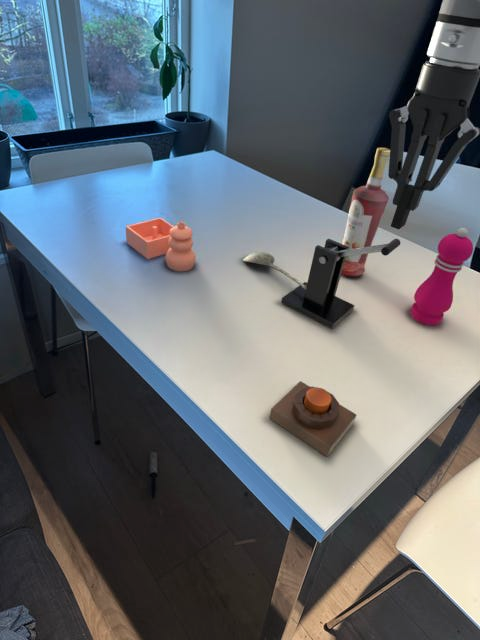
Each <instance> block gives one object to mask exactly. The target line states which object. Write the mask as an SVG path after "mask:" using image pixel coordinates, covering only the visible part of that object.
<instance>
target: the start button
mask: <svg viewBox="0 0 480 640" xmlns="http://www.w3.org/2000/svg"><path fill="white" fill-rule="evenodd" d="M321 388H322V387H317V388H311V389H309V390H308V391H307V393H306V397H305V400H304V405H305V407H306V408H307V409H308V410H309V411H310V412H312V413H315V414H323V413H325V412H327V411H328V409H329V406H330V403H331V396H330V394H329V393H330V392H329V391H328V390H326V389H324V388H322V389H321ZM327 391H328V392H329V393H328V392H327Z"/></svg>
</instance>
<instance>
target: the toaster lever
mask: <svg viewBox="0 0 480 640" xmlns="http://www.w3.org/2000/svg"><path fill="white" fill-rule="evenodd" d="M400 246H401V240H400V239H399V238H394V239H392V240H391V241H390V242H389V243H383V244H376V245H371V246H369V247H362V248H354V249H347V250H340V251H339V250H338V247H330V248H326V249H329V250H331V251H333V252H336V253H338V258H337V261H338V260H339V259H340V257H344V256H352V255H360V254H368V253H369V254H374V253H381V255H382V256H384V257H385V256H389V255H390V254H391V253H392V252H393V251H395V250H396V249H397V248H398V247H400ZM369 254H368V255H369Z"/></svg>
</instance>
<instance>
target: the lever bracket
mask: <svg viewBox="0 0 480 640" xmlns="http://www.w3.org/2000/svg"><path fill="white" fill-rule="evenodd" d="M330 247H338V250H339V251H340V250H347V249H348V248H349V247H348V246H346V245H343V243H341V242H339V241H336V240H333V239H331V238H327V239H326V240H325V243H324V246H322V245H319V244H318V245H316V246H315V247H314V252H313V256H312V260H311V264H310V269H309V273H308V278H307V281H304V282H302V284H304V285H306V291H305V289H303V287H302V286H301V285H298V286H297V287H295V288H294V289H293V290H291V291H290V292H288V293H287V294H285V295H284V296H283V297H281V301H280V303H281V304H283V305H285V306H286V307H288V308H290V309H292V310H293V311H296V312H298V313H299V314H302V315H304V316H306V317H308V318H310V319H312V320H314V321H315V322H317V323H319V324H321V325H323V326H324V327H327V328H329V329H331V330H333V329H334V328H335V327H336V326H337V325H338V324H339V323H340V322H342V321H343V320H344V319H345V318H346V317H348V315H350V313H351V312H353V311H354V308H355V304H353V303H351V302H348V301H347V300H345V299H342V298H340V297H339V296H336V294H337V292H338V291H337V290H338V287H339V284H340V280H341V276H342V274H341V273H342V269H343V266H344V262H345V259H346V256H344V257H340V259H339V260H338V261H337V258H338V253H336V252H333V251H331V250H329V249H326V248H330Z"/></svg>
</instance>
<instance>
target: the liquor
mask: <svg viewBox="0 0 480 640" xmlns="http://www.w3.org/2000/svg"><path fill="white" fill-rule="evenodd" d="M389 159H390V148H387V147H376V151H375V155H374V162H373V166H372V168H371V172H370V173H369V176H368V179H367V182H366V185H361V186H358V187H357V188H355V189H354V190H353V192H352V196H351V202H350V207H349V210H348V215H347V220H346V225H345V231H344V235H343V239H342V244H343V245H346V246H348V247H349V248H348V249H354V248H362V247H369V246H373V242H374V240H375V237H376V234H377V232H378V229H379V226H380V224H381V221H382V218H383V215H384V213H385V211H386V207H387V204H388V202H389V195H388V194H387V193H386V191H384V189H382V183H383V179H384V174H385V168H386V165H387V163H388V161H389ZM369 255H370V253H368V254H360V255H352V256H346V259H345V262H344V266H343V269H342V273H341V275H343V276H345V277H348V278H355V277H358V276H360V275H363V274H364V273H365V272H366V267H365V265H366V262H367V259H368V256H369Z"/></svg>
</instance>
